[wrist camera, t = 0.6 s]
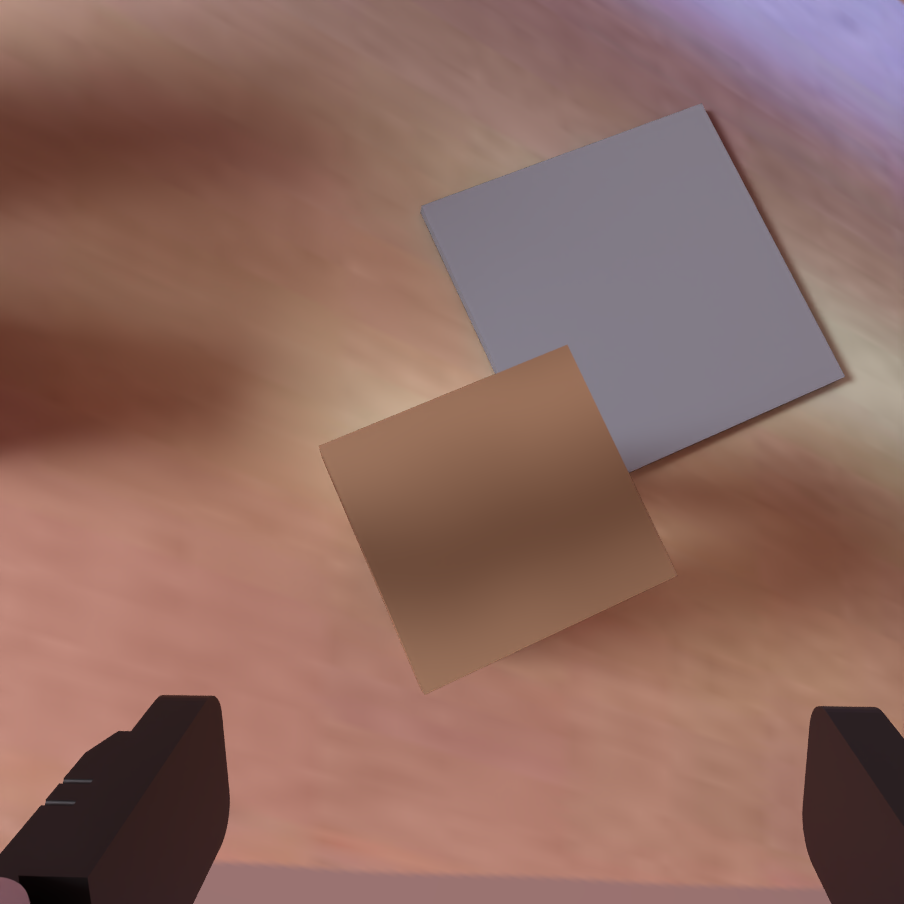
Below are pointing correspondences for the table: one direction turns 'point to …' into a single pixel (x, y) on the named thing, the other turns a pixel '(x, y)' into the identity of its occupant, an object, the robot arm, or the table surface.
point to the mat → (638, 283)
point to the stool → (495, 516)
